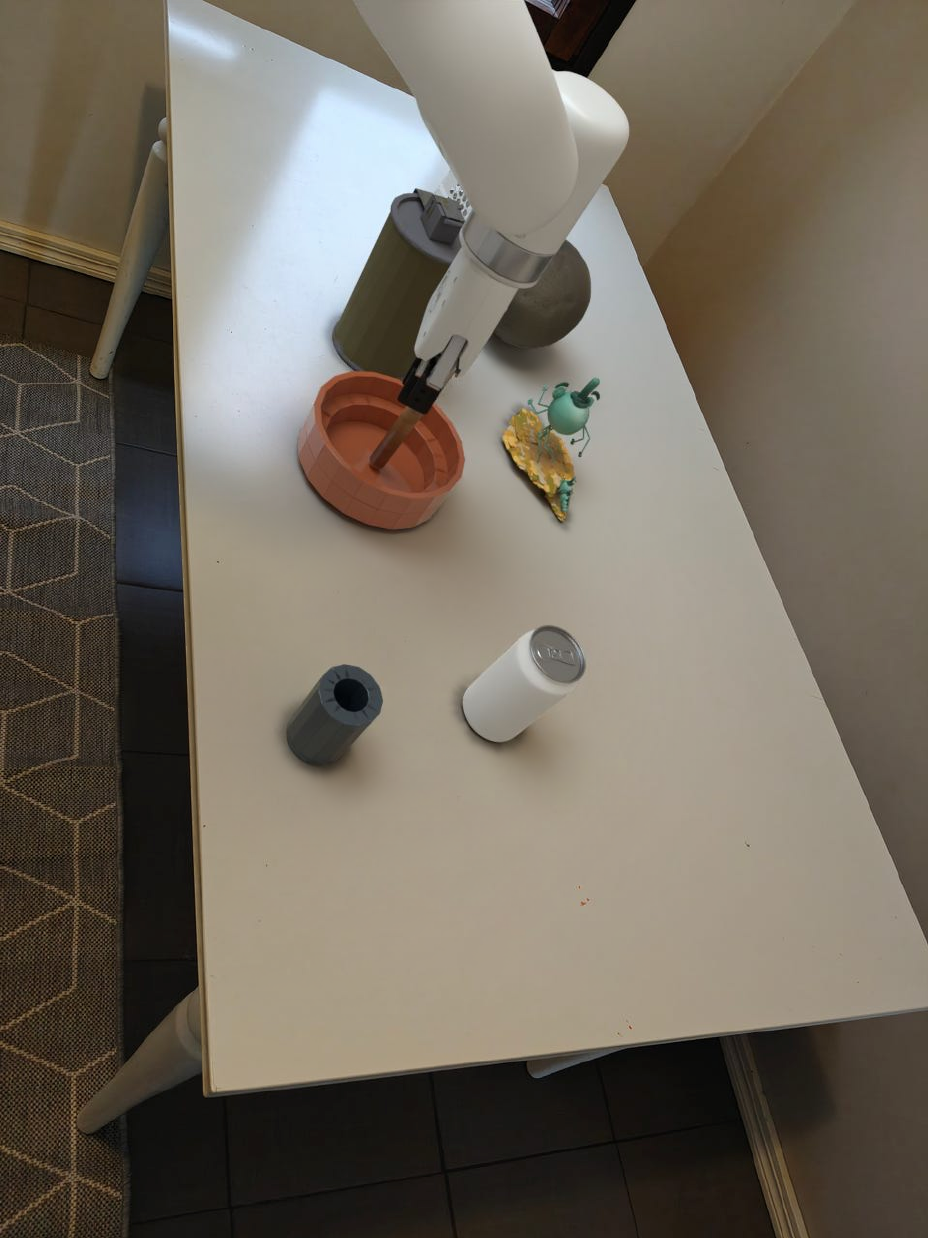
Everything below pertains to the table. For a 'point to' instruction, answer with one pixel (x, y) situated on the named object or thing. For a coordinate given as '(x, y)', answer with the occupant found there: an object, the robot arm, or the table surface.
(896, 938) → the table surface
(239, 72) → the table surface
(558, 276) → the cantaloupe
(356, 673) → the utensil pot
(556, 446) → the insect on leaf figurine
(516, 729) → the can
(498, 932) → the table surface
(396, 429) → the stick
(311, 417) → the bowl
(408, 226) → the canister
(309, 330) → the table surface
